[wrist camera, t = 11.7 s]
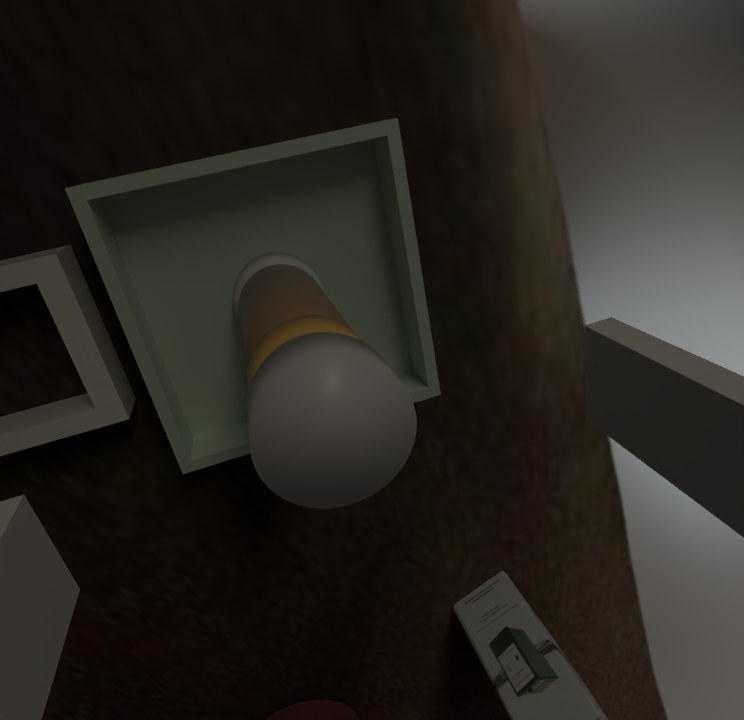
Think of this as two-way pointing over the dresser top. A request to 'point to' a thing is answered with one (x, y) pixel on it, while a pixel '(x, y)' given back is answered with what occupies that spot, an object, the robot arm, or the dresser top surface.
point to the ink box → (522, 656)
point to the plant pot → (316, 711)
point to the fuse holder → (85, 345)
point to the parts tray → (241, 245)
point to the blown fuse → (316, 391)
